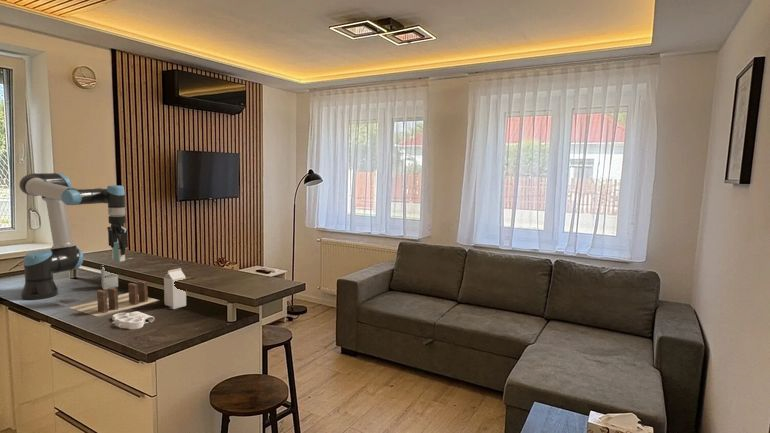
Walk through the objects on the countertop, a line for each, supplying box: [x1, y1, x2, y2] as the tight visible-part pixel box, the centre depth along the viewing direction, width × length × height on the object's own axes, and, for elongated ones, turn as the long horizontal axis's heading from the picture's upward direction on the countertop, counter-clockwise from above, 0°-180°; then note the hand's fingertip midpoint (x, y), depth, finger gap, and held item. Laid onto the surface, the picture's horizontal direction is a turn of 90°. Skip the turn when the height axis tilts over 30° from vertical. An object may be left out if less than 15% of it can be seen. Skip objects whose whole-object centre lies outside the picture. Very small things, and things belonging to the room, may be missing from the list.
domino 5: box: [137, 280, 149, 302], centre depth 223 cm, size 2×5×10 cm, turn 62°
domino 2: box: [107, 287, 119, 310], centre depth 210 cm, size 2×5×10 cm, turn 62°
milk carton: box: [163, 267, 187, 310], centre depth 219 cm, size 7×7×19 cm
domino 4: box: [127, 282, 139, 305], centre depth 219 cm, size 2×5×10 cm, turn 62°
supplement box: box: [100, 267, 119, 291], centre depth 250 cm, size 7×7×13 cm
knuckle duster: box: [110, 310, 155, 330], centre depth 196 cm, size 3×18×15 cm
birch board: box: [67, 292, 160, 318], centre depth 218 cm, size 26×30×1 cm
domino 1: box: [96, 289, 108, 313], centre depth 206 cm, size 2×5×10 cm, turn 62°
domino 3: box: [113, 241, 124, 263], centre depth 227 cm, size 2×5×10 cm, turn 63°
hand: (118, 260), depth 227 cm, fingers closed on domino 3, 5 cm apart
